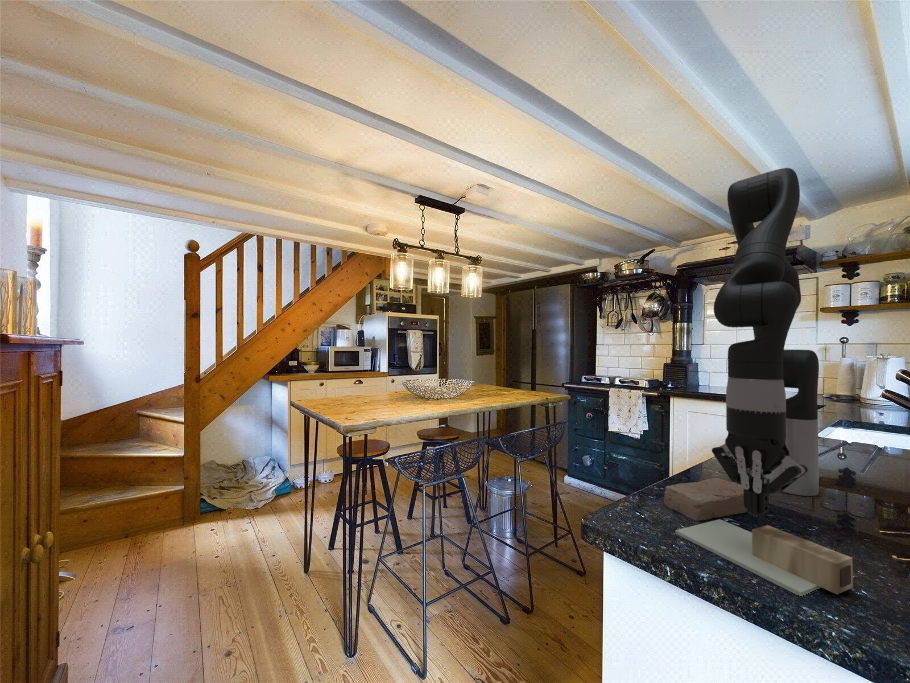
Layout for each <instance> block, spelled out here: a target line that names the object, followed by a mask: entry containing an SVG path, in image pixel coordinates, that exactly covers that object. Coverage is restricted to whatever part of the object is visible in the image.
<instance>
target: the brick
mask: <svg viewBox="0 0 910 683" xmlns="http://www.w3.org/2000/svg"><path fill="white" fill-rule="evenodd" d="M663 498H664V500H663V504H664V506H665V507H667V508H669V509H671V510H674V511H675V512H678V513H680V514H681V515H683V516H685V517H687V518H689V519H691V520H693V521H707V520H711V519H715V518H722V517H727V516H728V517H729V516H733V515H738V514H745V513H748V512H747V508H745V506H744V489H743V487H742V486H741V485H740V484H739V483H737V482H733V481H729V480H726V479H722V478H719V477H713V478H706V479H703V480H700V481H698V482H696V481H695V482H693V481H692V482H687V483H686V482H684V483H683V482H682V483H676V484H671V485H667V486H665V490H664V497H663Z"/></svg>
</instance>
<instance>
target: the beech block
mask: <svg viewBox="0 0 910 683" xmlns="http://www.w3.org/2000/svg"><path fill="white" fill-rule="evenodd" d="M751 532H752V555H753V556H755V557H758V558H760V559H762V560H764V561H766V562H768V563H770V564H773V565H775V566H777V567H779V568H781V569H783V570H786V571H788V572H790V573H792V574H794V575H796V576H798V577H801V578H803V579H805V580H807V581H809V582H811V583H813V584H816V585H818V586H820V587H822V588H821V589H824V590H827V591H829V592H830V593H832V594H835V595H839V594H841V593H844V592H846V591H849V590H850V589H853V588H854V581H853V580H854V577H853V576H854V573H853V571H854V570H853V569H854V567H853V566H854V564H853V561H854V560H853V557H851V556H849V555H846V554H844V553H841V552H838V551H835V550H833V549H831V548H828V547H825V546H823V545H820V544H818V543H815V542H812V541H810V540H808V539H804V538H802V537H799V536H796V535H795V534H792V533H789V532H787V531H784V530H782V529H779V528H777V527H773V526H771V525H768V524H767V525H766V524H765V525H763V526H760V527H756V528H753V529H751Z"/></svg>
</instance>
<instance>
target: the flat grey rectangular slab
mask: <svg viewBox="0 0 910 683" xmlns="http://www.w3.org/2000/svg"><path fill="white" fill-rule="evenodd" d="M675 535H677V536H679V537H681V538H683V539H685V540H687V541H688V542H691V543H693V544H695V545H697V546H699V547H701V548H703V549H705V550H706V551H708V552H709V551H710V552H711V553H713V554H714V555H717V556H719V557H721V558H723V559H725V560H727V561H729V562H731V563H733V564H735V565H736V566H739V567H741V568H742V569H744V570H747V571H748V572H751V573H753V574H755V575H757V576H759V577H760V578H762V579H765V580H767V581H769V582H770V583H772V584H774V585H776V586H779V587H780V588H782V589H785V590H786V591H789V592H790V593H793V594H795V595H796V596H798V595H799V597H800V596H802V597H804V596H807V595H808V593H809V594H811V593H810V592H812V591H814V590H816V589H819V590H820V588H821V589H823V588H822V587H820V586H818V585H816V584H813V583H811V582H809V581H807V580H805V579H803V578H801V577H798V576H796V575H794V574H792V573H790V572H788V571H786V570H783V569H781V568H779V567H777V566H775V565H773V564H770V563H768V562H766V561H764V560H762V559H760V558H758V557H755V556H753V555H752V531H749V530H746V529H744V528H742V527H739V526H737V525H736V524H733V523H730V522H727V521H725V520H722V519H716V520H711V521H707V522H703V523H700V524H696V525H691V526H687V527H684V528H680V529H676V530H675ZM816 591H817V590H816ZM814 592H815V591H814ZM812 593H813V592H812ZM806 594H807V595H806ZM803 595H804V596H803Z"/></svg>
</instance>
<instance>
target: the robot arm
mask: <svg viewBox="0 0 910 683" xmlns="http://www.w3.org/2000/svg"><path fill="white" fill-rule="evenodd" d="M799 182H800V181H799V177H798V175H797V173H796V171H795V170H794V169H793V168H790V167H784V168H783V167H782V168H779V169H774V170H770V171H767V172H764V173H761V174H757V175H753V176H751V177H747V178H744V179H741V180H738V181H735V182H733V183H731V185H730V186H728V190H727V197H726V198H727V200H726V201H727V207H728V212H729V216H730V221H731V224H732V228H733V232H734V235H735V236H734V237H735V240H736V243H737V246H738V247H737V248H736V251H735V256H734V259H733V260H734V262H733V266H732V271H731V273H730V274H729V276H728V278H727V279H726V280H725V282H724V283H723V284H722V286H721V288H720V289H719V290H718V293H717V295H716V296H715V300H714V302H713V315H714V317H715V319H716V321H717V322H718V323H719V324H720V325H722V326H724V327H727V328H752V330H753V331H752V332H753V337H754V339H751V340H745V341H744V340H743V341H738V342H735V343H732V344H731V345H729V347H728V349H727V383H726V391H725V404H726V405H725V407H726V408H725V410H726V412H725V413H726V414H725V415H726V416H725V417H726V421H725V422H726V423H725V425H726V428H725V429H726V431H727V436H726V438H725V440H724V443H723V444H722V445H720V446H716V447H712V448H711V452H712V454H713V455H714V457H715V458H716V460H717V461H718V463H719V465H720V466H721V468H722V469H723V471H724V472H725V473H726V475H727V477H728V478H729V480H730V482H734V483H736V484H740V485H741V486H742V487H743V489H744V506H745V508H747V512H746V513H748V514H751V515H753V516H756V517H761V516H765V514H768V513H769V511H770V507H769V506H770V497H769V496H770V494H776V493H781V492H783V493H788V494H791V495H797V496H805V497H809V496H810V497H815V496H816V497H817V496H818V495H819V494H820V490H819V487H820V486H819V485H820V484H819V483H820V482H819V471H820V470H819V422H818V421H819V420H818V419H819V418H818V417H819V415H818V414H819V413H818V409H819V408H818V386H819V374H820V371H819V370H820V362H819V358H818V355H817V354H816V352H815V351H814V350H811V349H785V345H786V342H787V337H788V333H789V331H790V327H791V326H792V323H793V320H794V318H795V315H796V313H797V310H798V308H799V307H800V305H801V301H802V293H801V286H800V276H799V272H798V271H797V269H796V267H794V266H793V265H792V264H791V263H790V262H789V261H788V260H787V259H786V253H787V252H786V251H787V243H788V239H789V235H790V233H791V231H792V228H793V226H794V222H795V219H796V215H797V212H798V209H799V205H800V199H801V195H800V194H801V190H800V189H801V188H800V183H799ZM758 222H760V223H758ZM755 223H758V224H756V226H755V225H754V224H755ZM785 388H786V389H798V390H797V393H796V394H794V395H793V396H790V397H788V398H787V397H786V394H787V392H786V389H785Z"/></svg>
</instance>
